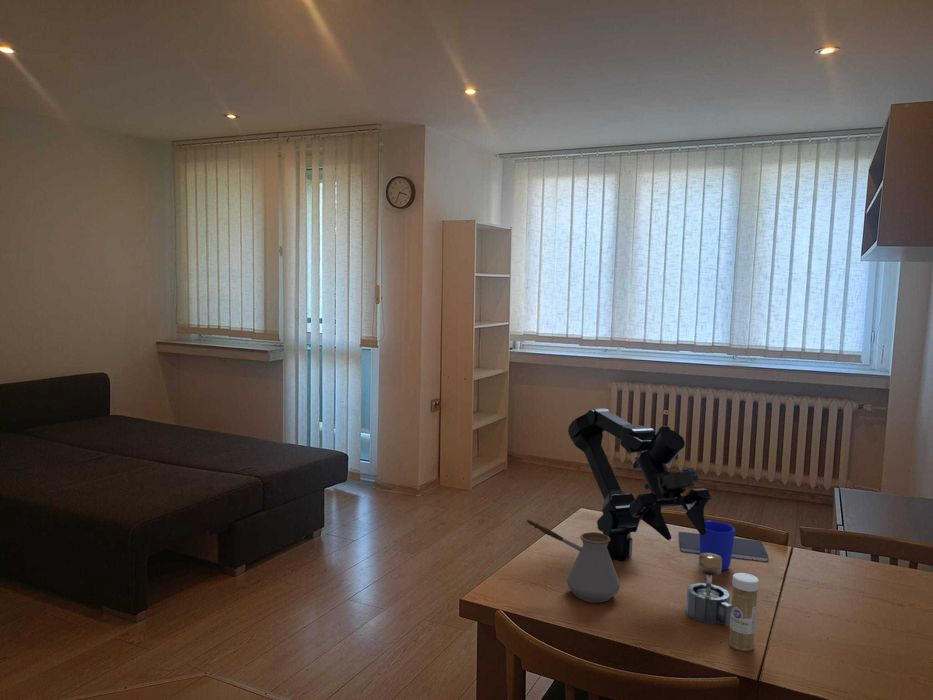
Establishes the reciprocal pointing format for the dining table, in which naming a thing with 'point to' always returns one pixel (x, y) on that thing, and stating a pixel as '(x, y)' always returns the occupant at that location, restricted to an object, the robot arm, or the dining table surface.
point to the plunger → (709, 572)
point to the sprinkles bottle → (743, 611)
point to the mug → (718, 541)
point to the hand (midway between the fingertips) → (687, 537)
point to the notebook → (740, 549)
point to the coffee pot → (590, 567)
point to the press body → (708, 605)
